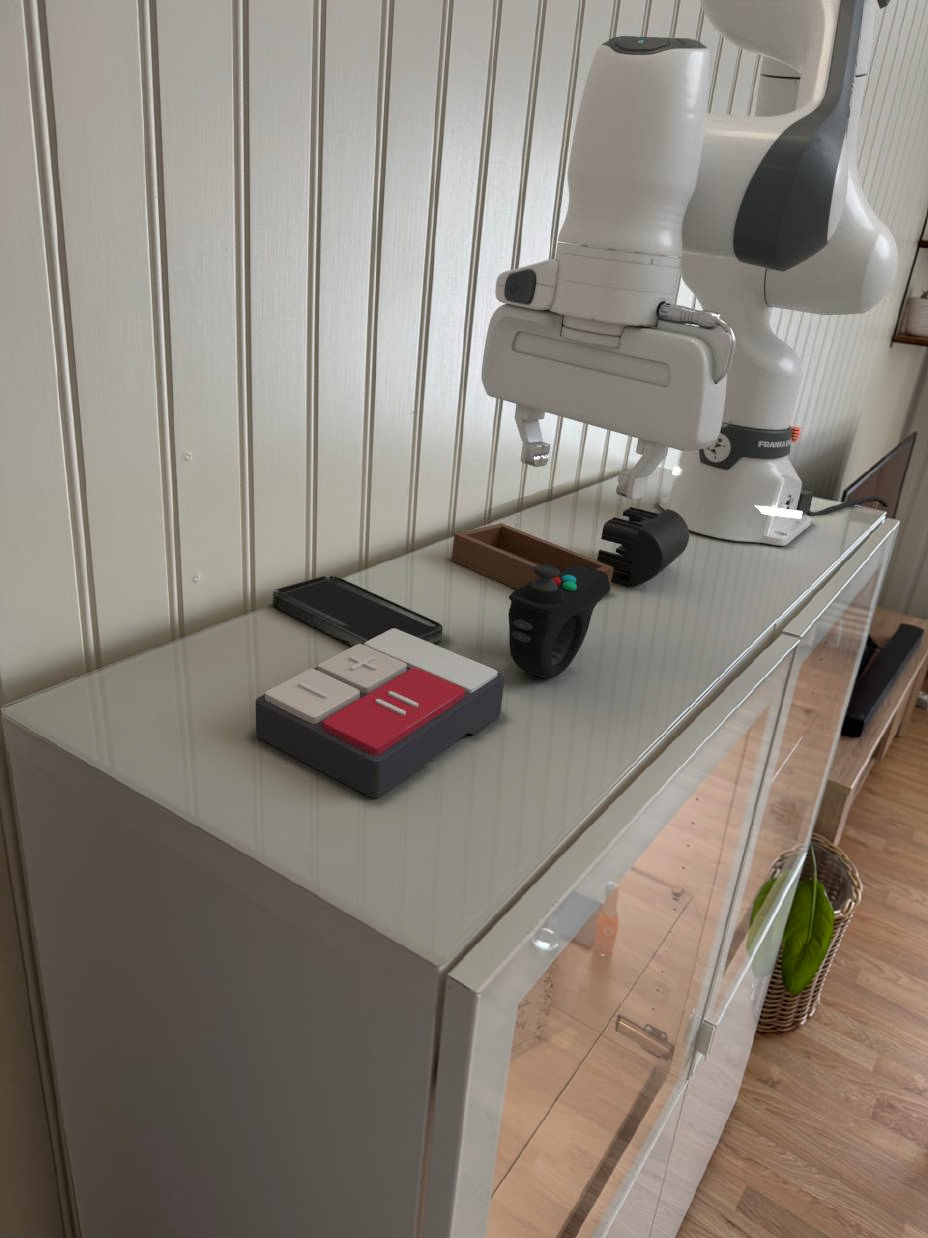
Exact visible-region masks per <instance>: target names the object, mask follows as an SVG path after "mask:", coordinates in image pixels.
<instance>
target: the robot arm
mask: <svg viewBox="0 0 928 1238" xmlns="http://www.w3.org/2000/svg"><path fill="white" fill-rule="evenodd" d="M890 2H891V0H699V3H700V6H701V8H702V11H703V13H704V15H705V17H706V18H707V20H708V22H709V23H710V25H711V26H712V27H713V29H714V30H715V31H716V33H718V34H719V36H721V37H722V38H723V39H724V40H725V41H726V42H728V43H729V44H731V45H732V46H734V47H736V48H738V49H740V50H742V51H745V52H747V53H752V54H754V55H759V56H762V60H761V66H760V74H759V81H758V87H757V88H758V89H757V94H756V95H757V96H756V102H755V104H756V105H755V109H754V116H753V115H745V114H744V115H742V114H730V113H729V114H727V113H712V112H708V107H709V96H710V86H711V67H712V66H711V65H712V64H711V63H712V59H711V58H712V57H711V50H710V48H709V47H708V46H706V45H704V44H703V43H702V42H701V41H699V40H696V39H693V38H689V37H688V38H687V37H664V36H660V37H659V36H639V35H637V36H635V35H620V36H614V37H612V38H609V39H608V40H607V41H604V42H603V43H602V44H600V45H599V46H598V47H597V49H596V51H595V53H594V56H593V58H592V61H591V64H590V68H589V70H588V73H587V77H586V80H585V84H584V88H583V92H582V95H581V100H580V103H579V107H578V108H579V109H578V112H577V116H576V121H575V126H574V131H573V136H572V144H571V148H570V154H569V161H568V168H567V188H568V204H567V205H568V206H567V210H566V215H565V218H564V221H563V224H562V226H561V228H560V231H559V233H558V236H557V243H556V249H555V257H554V258H549V259H545V260H543V261H539V262H535V263H533V264H528V265H525V266H521V267H518V268H514V269H510V270H509V269H508V270H505V271H503V272H501V273H499V274H498V276H497V278H496V282H495V289H494V290H495V298H496V300H497V301H498V302H499V303H502V304H501V305H500V306H499V307H497V308H496V309H495V310H494V312H493V313H492V315H491V318H490V319H489V323H488V327H487V331H486V338H485V342H484V343H485V344H484V349H483V356H482V362H481V363H482V365H481V374H480V375H481V383H482V386H483V387H484V390H485V393H486V395H488V397H491V398H495V399H498V400H501V401H505V402H508V403H512V404H515V410H514V420H515V424H516V428H517V430H518V434H519V437H520V440H521V442H522V446H521V454H520V462H521V463H522V464H525V465H528V466H531V467H534V468H539V467H545V466H546V465H547V464H548V463H549V453H550V452H551V451H550V450H551V443H548V442H545V441H544V439H543V438H544V437H543V434H542V430H541V424H540V421H539V420H544V419H545V415H546V413H547V414H551V415H554V416H558V417H561V418H565V419H567V420H568V419H569V420H572V421H575V422H579V423H583V424H586V425H589V426H593V427H596V428H599V429H604V430H607V431H611V432H614V433H616V434H622V435H624V436H628V437H631V438H635V439H637V444H636V449H635V453H636V454H637V455H640V456H641V457H640V458H639V459H638V460H637V462H636V463H635V464H634V466H633V467H632V469H630V470H627V471H626V470H624V471H619V473H618V477H617V485H616V487H615V493H616V495H617V496H620V497H623V498H626V499H629V500H632V501H634V500H639V499H642V498H643V497H644V496H645V494H646V489H647V485H648V482H649V481H648V480H649V476H650V475H652V473H654V471H656V469H657V468H658V467H659V465H661V463H662V462H663V461H664V460H665V458H667V456H668V454H669V448H670V449H673V450H677V451H681V452H682V453H681V455H680V458H679V461H678V464H677V466H673V469H672V475H674V478H673V481H672V484H671V488H670V492H669V495H668V497H662V498H661V499H660V502H659V507H660V508H661V509H663V510H664V511H665V510H667V509H670V510H673V511H675V512H676V513H678V514H679V515H680V516H681V517H682V518H683V519H684V521H685V522H686V524H687V526H688V530H689V531H691V532H694V533H696V534H701V535H705V536H709V537H712V538H717V539H722V540H727V541H734V542H746V543H760V544H765V545H772V546H780V547H784V546H787V545H788V544H789V543H790V542H792V541H793V540H794V539H796V537H798V536H799V535H800V534H801V533H803V532H804V531H805V530H806V529H807V528H809V527H810V526H811V525H812V519H813V518H812V517H816V516H824V515H827V514H828V513H832V512H834V511H839V510H841V509H844V508H846V507H850V506H852V507H853V506H857V505H861V504H865V503H870V502H877V503H880V505H881V506H882V507H884V508H889V504H888V501H886V500H885V499H884V498H882V497H880V496H866V497H862V498H858V499H853V500H846V501H844V502H841V503H839V504H836V505H831V506H829V507H826V508H823V509H821V510H819V511H816V512H815V511H814V512H813V511H811V507H812V501H813V497H814V492H812V491H810V490H806V489H803V482H802V479H801V478H800V477H799V475H798V473H797V471H796V470H795V468H794V466H793V464H792V462H791V460H790V459H789V455H790V454H791V446H792V443H797V442H798V441H799V439H800V437H801V436H802V435H801V434H802V428H801V427H800V426H793V425H791V421H792V417H793V414H794V409H795V406H796V403H797V402H796V401H797V398H798V394H799V391H800V386H801V383H802V378H803V365H802V362H801V359H800V357H799V356H798V354H797V352H796V351H795V350H794V349H793V348H792V347H791V346H790V345H788V344H787V343H786V342H785V341H783V339H781V338H780V337H778V336H777V335H776V334H775V332H774V331H773V329H772V327H771V324H770V309H771V308H774V309H775V308H776V309H780V310H787V311H788V310H789V311H793V312H801V313H807V314H812V315H819V316H843V315H844V316H845V315H860V314H861V315H862V314H866V313H867V312H869V311H870V310H872V309H873V308H874V307H875V306H877V305H878V304H879V303H880V302H881V301H882V300H883V298H884V297H885V296H886V295H887V294H888V292H889V291H890V289H891V287H892V285H893V283H894V282H895V279H896V276H897V272H898V266H899V249H898V245H897V242H896V239H895V237H894V235H893V233H892V232H891V230H890V229H889V227H888V226H887V225H886V224H885V223H884V222H883V221H882V220H881V219H880V218H879V216H878V215H877V214H876V213H875V212H874V210H873V208H872V207H871V205H870V203H869V201H868V199H867V197H866V196H865V192H864V190H863V188H862V183H861V179H860V175H859V170H858V162H857V150H858V149H857V148H858V147H857V146H858V137H859V127H860V121H861V114H862V109H863V107H862V106H863V100H864V95H865V89H866V84H867V80H868V73H869V68H870V62H871V57H872V52H873V51H872V50H873V43H874V36H875V35H874V34H875V25H876V24H875V23H876V13H877V12H876V9H877V4H878V8H879V9H880V10H881V9H883V8H886V7H888V6H889V4H890ZM679 274H680V275H679ZM679 276H680V277H681V279H682V281H683V283H684V285H685V286H686V287H687V288H688V289H689V291H691V293H692V294H693V296H694V297H695V298H696V300H697V301H698V303H699V305H700V307H701V309H702V310H699V309H695V308H694V309H693V308H690V307H688V306H684V305H680V304H674V299H675V294H676V287H677V284H678V278H679Z"/></svg>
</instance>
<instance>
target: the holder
mask: <svg viewBox="0 0 928 1238" xmlns="http://www.w3.org/2000/svg"><path fill="white" fill-rule="evenodd" d="M451 551H452V552H451V561H452V562H455V563H456V564H459V565H461V566H463V567H466V568H468V569H470V570H472V571H475V572H477V573H479V574H482V575H484V576H485V577H488V578H490V579H493V580H495V581H497V582H499V583H501V584H504V585H505V586H508V587H510V588H513V589H514V590H517V589H519V588H521V587H523V586H524V585H526V584H528V583H529V582H531V581H533V580H535V579H537V578H539V576H537V575H536V574H535V573H534V572H533V570H534V567H535V566H536V565H539V564H547V565H552V566H554V567H557V568H558V569H559V571H562V570H564V569H567V568H569V567H571V566H573V565H584V566H588V567H591V568H594V569H597V570H600V571H603V572H605V573H606V574H607V575H608V579H609V584H610V586H609V587H610V588H611V584H612V582H611V580H612V574H613V569H614V567H611V566H609V565H606V564H604V563H601V562H599V561H597V559H594V558H591V557H588V556H587V555H583V554H581V553H579V552H576V551H573V550H570V549H568V548H566V547H563V546H561V545H558V544H556V543H553V542H551V541H548V540H545V539H543V538H541V537H538V536H535V535H533V534H530V533H528V532H525V531H523V530H520V529H517V528H515V527H512V526H511V525H507V524H505V523H502V522H499V523H496V524H492V525H487V526H483V527H482V526H481V527H478V528H474V529H473V528H472V529H469V530H464V531H461V532H455V533H454V535H453V543H452V550H451ZM609 594H610V591H609V592H608V593H607V594H606V595H605V596H604V597H607V596H609Z"/></svg>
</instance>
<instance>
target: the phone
mask: <svg viewBox="0 0 928 1238" xmlns="http://www.w3.org/2000/svg"><path fill="white" fill-rule="evenodd" d="M272 606H273V607H275V608H276V609H279V610H281V611H282V612H284V613H287V614H289V615H291V616H292V617H294V618H295V619H297V620H300V621H302V622H304V623H305V624H308V625H310V626H312V627H314V628H316V629H318V630H320V631H322V632H324V633H325V634H328V635H329V636H332V637H334V638H336V639H338V640H339V641H341V642H343V643H345V644H347V645H349V646H351V647H353V646H355V645H357V644H363V643H365V642H367V641H369V640H371V639H373V638H375V637H376V636H378V635H380V634H382V633H384V632H386V631H388V630H390V629H393V628H394V629H398V630H400V631H403V632H405V633H408V634H410V635H412V636H415V637H417V638H420V639H422V640H425V641H427V642H429V643H432V644H434V645H435V644H437V643H439V642H441V641H442V638H443V630H444V628H443V625H442V624H441V623H440V622H438V621H435V620H433V619H431V618H429V617H427V616H425V615H423V614H420V613H418V612H416V611H414V610H412V609H410V608H408V607H405V606H403V605H401V604H398V603H396V602H394V601H392V600H389V599H388V598H385V597H383V596H380V595H378V594H376V593H374V592H372V591H370V590H368V589H365V588H363V587H361V586H359V585H357V584H354V583H352V582H350V581H348V580H345V579H343V578H342V577H339V576H335V575H322V576H319V577H315V578H312V579H309V580H305V581H300V582H297V583H294V584H290V585H287V586H282V587H279V588H276V589H274V590H273V592H272Z"/></svg>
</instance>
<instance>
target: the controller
mask: <svg viewBox="0 0 928 1238" xmlns="http://www.w3.org/2000/svg"><path fill="white" fill-rule="evenodd" d="M533 572H534V573H535V574H536V575H537V576H539V578H537V579H535V580H533V581H531V582H529V583H528V584H526V585H524V586H523V587H521V588H519V589H514V591H512V592H511V593H510V594H509V596H508V599H509V600H510V605H509V609H508V628H509V629H508V630H509V631H508V632H509V634H508V637H509V638H508V641H509V642H508V643H509V645H508V646H509V654H510V656H511V659H512V661H513V663H514V665H516V667H518V668H519V669H520V670H521V671H523V672H525V673H527V674H530V675H532V676H535V677H538V678H543V679H551V678H553V677H557V676H559V675H561V674H562V673H563V672H564V671H566V670H567V668H568V667H569V666H570V665H571V664H572V662H573V661H574V659H575V657H576V656H577V655H578V652H579V651H580V649H581V647H582V645H583V642H584V640H585V638H586V635H587V632H588V630H589V627H590V623H591V619H592V616H593V612H594V609H595V608H596V606H597V605H598V603H599V602H600V601H601V600H602V599H603V598H604V597H606V596H605V595H606V594H607V593H608V592H609V593H610V591H611V585H610V584H609V579H608V575H607V574H606V573H605V572H603V571H600V570H597V569H594V568H591V567H588V566H584V565H573V566H571V567H569V568H567V569H564V570H562V571H559V569H558V568H557V567H554V566H552V565H547V564H539V565H536V566H535V567H534V570H533ZM609 586H610V587H609Z"/></svg>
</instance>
